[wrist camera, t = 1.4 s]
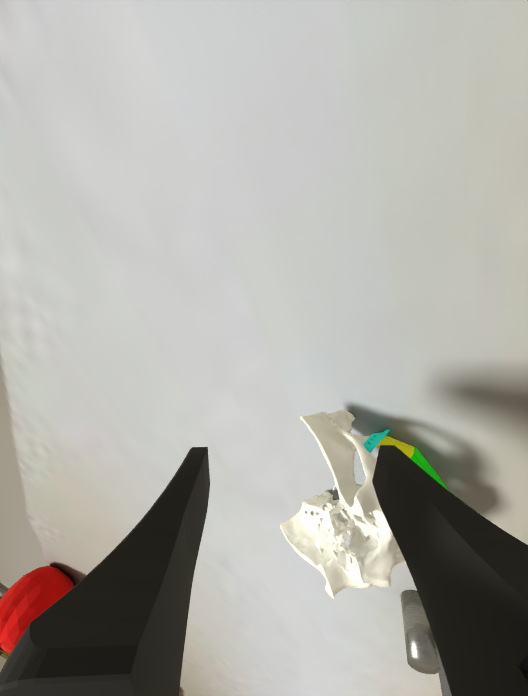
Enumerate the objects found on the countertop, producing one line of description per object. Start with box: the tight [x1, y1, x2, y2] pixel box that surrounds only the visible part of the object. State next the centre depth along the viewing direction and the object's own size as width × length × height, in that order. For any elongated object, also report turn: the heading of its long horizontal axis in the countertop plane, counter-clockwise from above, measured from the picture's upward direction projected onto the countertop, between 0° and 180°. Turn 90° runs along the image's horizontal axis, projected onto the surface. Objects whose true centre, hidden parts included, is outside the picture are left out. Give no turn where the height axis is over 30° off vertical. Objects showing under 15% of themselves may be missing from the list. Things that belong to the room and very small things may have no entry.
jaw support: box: [280, 410, 467, 599], centre depth 22 cm, size 12×9×10 cm
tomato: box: [0, 566, 74, 657], centre depth 48 cm, size 12×12×11 cm
